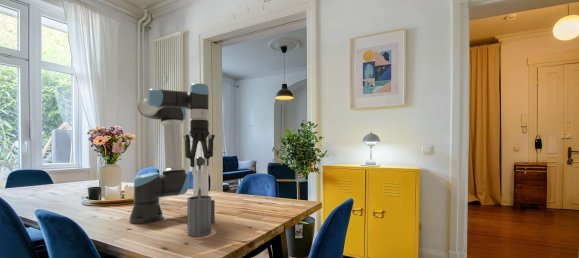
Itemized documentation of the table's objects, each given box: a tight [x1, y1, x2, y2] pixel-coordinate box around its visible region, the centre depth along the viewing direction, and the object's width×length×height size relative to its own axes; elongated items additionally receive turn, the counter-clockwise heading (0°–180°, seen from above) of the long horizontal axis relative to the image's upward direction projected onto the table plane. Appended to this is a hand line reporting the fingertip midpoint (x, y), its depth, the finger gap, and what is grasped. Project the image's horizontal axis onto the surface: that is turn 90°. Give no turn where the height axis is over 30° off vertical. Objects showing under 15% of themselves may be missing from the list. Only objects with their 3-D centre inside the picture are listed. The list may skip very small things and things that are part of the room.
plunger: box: [193, 156, 205, 200], centre depth 121 cm, size 6×6×19 cm
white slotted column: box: [192, 170, 209, 197], centre depth 139 cm, size 7×7×25 cm
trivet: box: [181, 228, 218, 240], centre depth 120 cm, size 14×14×1 cm
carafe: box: [186, 195, 216, 237], centre depth 121 cm, size 10×12×15 cm
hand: (199, 174), depth 121 cm, fingers closed on plunger, 4 cm apart
